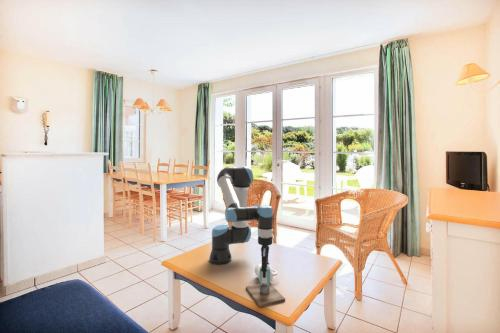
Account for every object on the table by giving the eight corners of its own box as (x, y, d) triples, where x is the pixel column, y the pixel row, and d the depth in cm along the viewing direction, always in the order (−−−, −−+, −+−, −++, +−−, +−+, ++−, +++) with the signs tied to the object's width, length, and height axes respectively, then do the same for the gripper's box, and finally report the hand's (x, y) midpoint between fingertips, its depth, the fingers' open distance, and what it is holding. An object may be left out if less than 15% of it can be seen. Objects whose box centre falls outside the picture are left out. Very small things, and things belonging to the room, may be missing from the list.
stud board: (245, 288, 137) (246, 271, 136) (269, 283, 142) (269, 267, 142) (259, 307, 120) (259, 287, 120) (285, 301, 125) (285, 282, 125)
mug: (259, 285, 141) (259, 271, 140) (254, 276, 150) (254, 263, 150) (279, 282, 144) (279, 268, 143) (273, 274, 153) (273, 261, 153)
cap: (259, 283, 128) (259, 270, 128) (260, 278, 134) (260, 265, 133) (269, 284, 128) (269, 271, 127) (270, 279, 133) (270, 266, 133)
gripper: (271, 242, 120) (271, 290, 121) (273, 230, 138) (272, 272, 139) (255, 241, 121) (255, 288, 122) (259, 230, 139) (259, 271, 140)
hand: (264, 279), depth 131 cm, fingers closed on cap, 5 cm apart
